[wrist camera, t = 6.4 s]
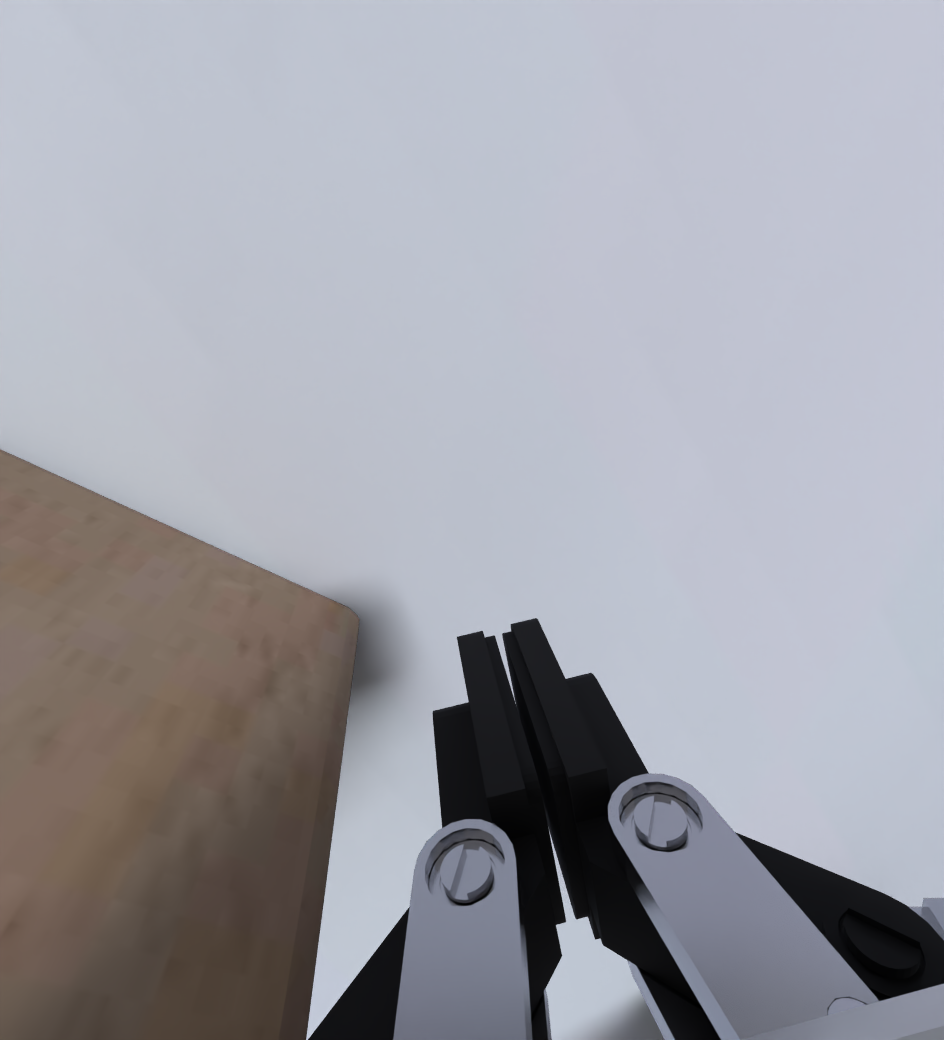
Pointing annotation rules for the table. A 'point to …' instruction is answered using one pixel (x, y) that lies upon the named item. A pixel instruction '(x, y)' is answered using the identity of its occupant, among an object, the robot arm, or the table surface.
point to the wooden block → (158, 775)
